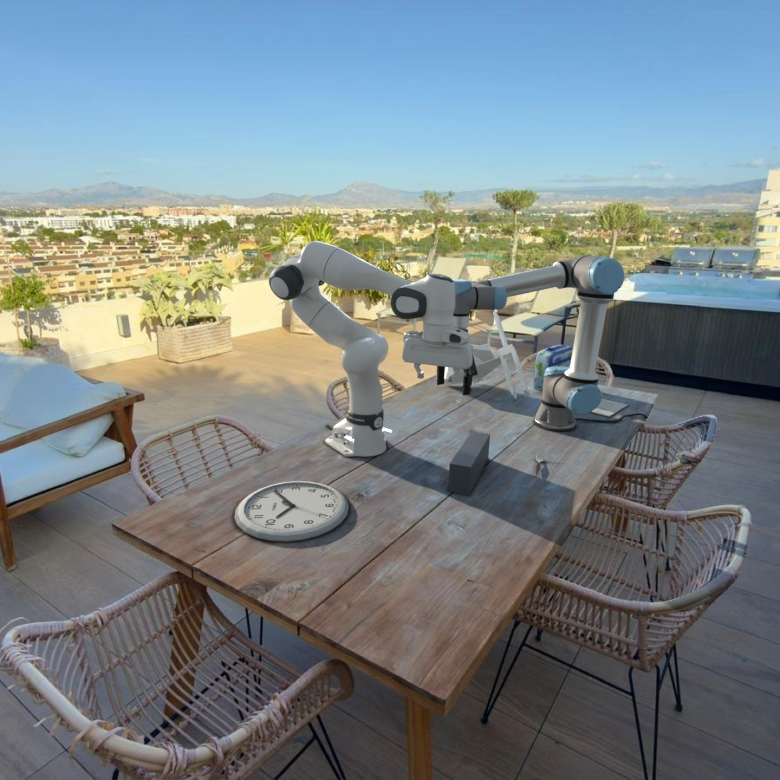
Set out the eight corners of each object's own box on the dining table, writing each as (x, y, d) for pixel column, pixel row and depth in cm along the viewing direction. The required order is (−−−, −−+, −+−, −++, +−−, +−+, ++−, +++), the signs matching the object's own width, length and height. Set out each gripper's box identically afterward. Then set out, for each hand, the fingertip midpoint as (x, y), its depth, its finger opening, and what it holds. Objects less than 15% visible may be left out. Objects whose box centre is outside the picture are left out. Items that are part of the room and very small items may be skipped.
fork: (531, 475, 162) (532, 469, 161) (536, 455, 176) (537, 450, 175) (540, 476, 161) (541, 471, 160) (544, 456, 175) (545, 451, 175)
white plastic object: (461, 429, 252) (437, 405, 227) (444, 352, 274) (420, 323, 250) (535, 404, 240) (518, 377, 215) (510, 326, 262) (492, 293, 237)
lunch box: (550, 397, 237) (555, 352, 231) (529, 391, 245) (533, 348, 238) (577, 386, 255) (582, 344, 249) (556, 381, 262) (561, 340, 256)
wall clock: (349, 533, 127) (222, 537, 124) (349, 539, 127) (223, 543, 125) (348, 477, 155) (245, 479, 153) (348, 481, 156) (245, 484, 153)
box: (469, 455, 175) (471, 431, 173) (488, 459, 173) (490, 434, 171) (448, 491, 152) (449, 463, 149) (469, 495, 149) (471, 467, 147)
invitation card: (608, 416, 214) (573, 407, 224) (608, 416, 214) (573, 408, 224) (628, 404, 229) (594, 396, 238) (628, 405, 229) (594, 397, 238)
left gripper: (399, 331, 149) (398, 378, 153) (470, 338, 141) (467, 387, 145) (407, 328, 154) (406, 373, 158) (475, 334, 147) (472, 381, 151)
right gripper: (424, 322, 180) (422, 381, 186) (473, 335, 160) (469, 401, 166) (441, 321, 184) (438, 379, 190) (491, 333, 164) (486, 397, 170)
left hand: (435, 380), depth 152 cm, fingers open, 8 cm apart
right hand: (452, 389), depth 178 cm, fingers open, 13 cm apart
